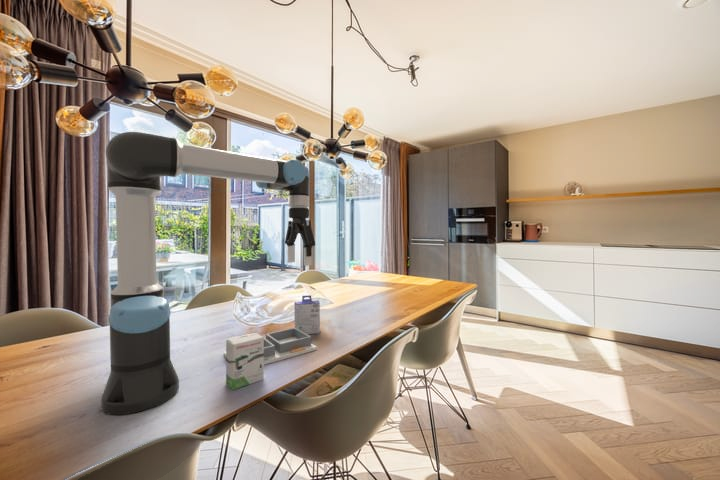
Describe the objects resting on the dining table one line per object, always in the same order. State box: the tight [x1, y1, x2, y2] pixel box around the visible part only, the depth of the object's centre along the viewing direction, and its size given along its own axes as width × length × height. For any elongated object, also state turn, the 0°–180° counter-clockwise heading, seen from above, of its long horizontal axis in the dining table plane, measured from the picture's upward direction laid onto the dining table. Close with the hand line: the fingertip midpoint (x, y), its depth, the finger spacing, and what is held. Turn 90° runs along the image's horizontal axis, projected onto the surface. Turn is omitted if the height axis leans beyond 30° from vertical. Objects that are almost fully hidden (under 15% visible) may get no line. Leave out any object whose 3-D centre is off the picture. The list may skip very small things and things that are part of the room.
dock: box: [223, 327, 318, 366], centre depth 99 cm, size 26×15×4 cm, turn 129°
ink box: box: [225, 332, 265, 390], centre depth 80 cm, size 9×5×12 cm, turn 134°
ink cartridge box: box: [294, 295, 321, 335], centre depth 119 cm, size 10×6×14 cm, turn 106°
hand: (299, 264), depth 113 cm, fingers open, 13 cm apart
